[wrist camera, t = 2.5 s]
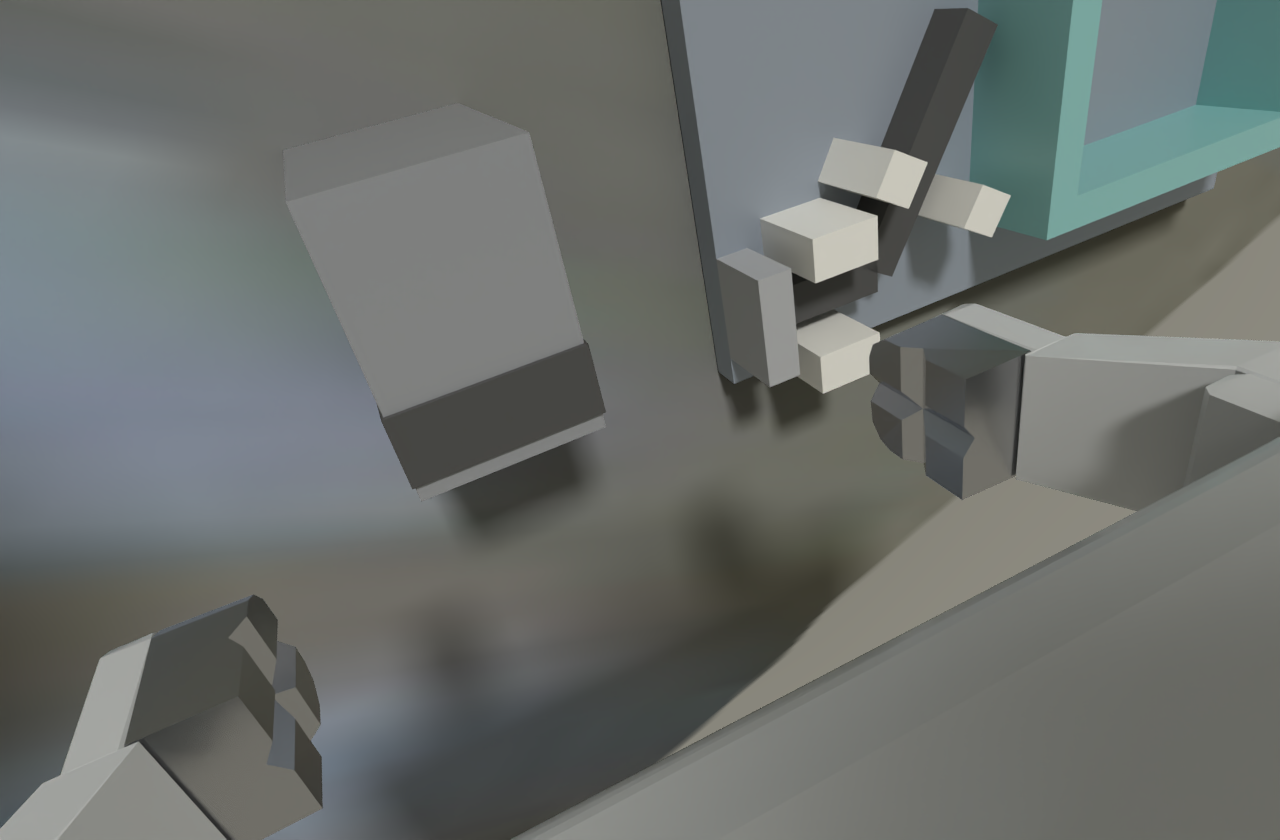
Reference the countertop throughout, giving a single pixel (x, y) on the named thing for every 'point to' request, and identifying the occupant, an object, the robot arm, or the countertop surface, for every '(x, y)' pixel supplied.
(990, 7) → the end holder
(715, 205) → the board
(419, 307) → the block
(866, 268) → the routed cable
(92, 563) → the countertop surface
